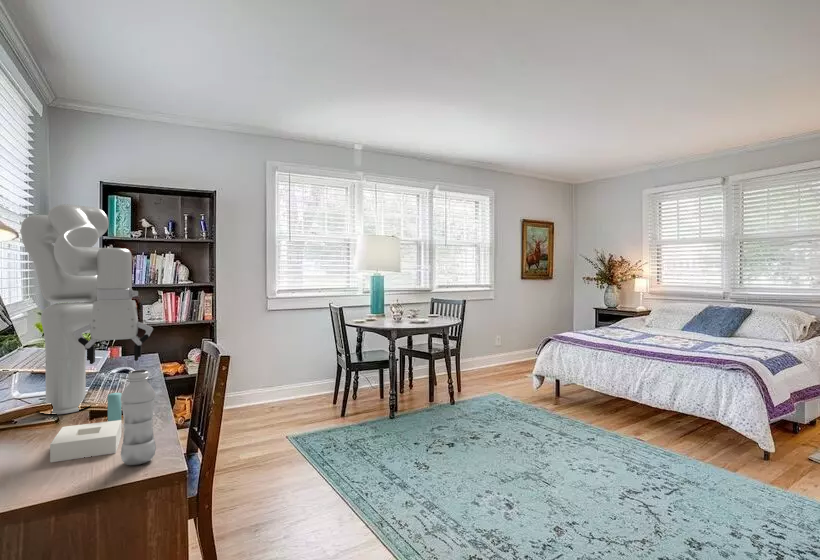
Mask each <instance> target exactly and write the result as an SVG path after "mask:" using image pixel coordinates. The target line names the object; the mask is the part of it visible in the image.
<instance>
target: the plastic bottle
mask: <svg viewBox="0 0 820 560" xmlns="http://www.w3.org/2000/svg"><path fill="white" fill-rule="evenodd" d="M149 377H150V375H149V370H148V369H136V370H131V371H129V372H128V378H127V381H128V383H129V384H128V385H127V386H126V387H125V388H124V390H123V392H121V412H122V414H123V415H122V416H123V418H122V419H123V422H124V423H123V438H122V444H121V449H120V450H121V451H120V458H121V462H122V463H124V465H126V466H135V465H136V466H139V465H141V464H145V463H147V462H150V461H151V460H152V459H153V458H154V456H155V454H156V450H157V445H156V440H155V436H154V435H155V434H154V426H153V416H154V407H155V400H156V392H155V389H154V388H153V387H152V385H151V383H149V382H148V381H149Z"/></svg>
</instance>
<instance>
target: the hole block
mask: <svg viewBox="0 0 820 560" xmlns="http://www.w3.org/2000/svg"><path fill="white" fill-rule="evenodd" d="M122 421H123V419H121V420H117V421H108V420H107V421H100V422H93V423H92V422H91V423H86V424H85V423H84V424H75V425H67V426H62V427H61V428H60V430H59V431H58V433H57V434H56V435H55V437H54V438H53V440H51V442H50V443H49V463H55V462H56V463H57V462H63V461H70V460H76V459H82V458H83V459H84V457H85V458H89V457H91V456H92V457H97V456H104V455H111V454H116V453H117V451H118V447H119V445H120V442H121V438H122V434H123V433H122V428H123V427H122V424H123V423H122Z"/></svg>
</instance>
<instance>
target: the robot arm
mask: <svg viewBox="0 0 820 560" xmlns="http://www.w3.org/2000/svg"><path fill="white" fill-rule="evenodd" d="M108 229H109V218H108V215H107V214H106V213H105V211H104V210H103V209H101V208H99V207H96V206H88V205H87V206H86V205H85V206H84V205H79V204H78V205H77V204H66V203H65V204H58V205H55V206H53V207H52V208H51V209H50V210H49V211H48V214H37V215H36V214H35V215H31V216H30V215H29V216H27V217H25V218H24V219H23V221H22V223H21V226H20V236H21V241H22V243H23V246H24V249H25V250H26V251H27V254H28V255H29V257H30V258H31V260H32V261H33V264H34V267H35V271H36V275H37V279H38V284H39V287H40V291H41V294H42V297H43V298H44V300H45V301H47V302H49V303H54V304H51V305H48V306H47V307H45V308H44V309H43V310H42V312H41V318H40V319H41V325H42V331H43V335H44V336H43V337H44V344H45V345H44V347H45V351H44V352H45V404H46V403H51V404H52V405H53V411H52V413H56V414H57V415H65V414H71V413H76V412H80V411H79V408H78V406H79V404H80V403H81V401H82V400H83V399H84V397H85V395H86V392H87V391H86V390H87V389H86V386H87V383H86V379H87V377H86V375H87V374H86V373H87V372H86V371H87V370H86V368H87V367H86V366H87V365H86V363H87V362H86V361H89V364H90V365H93V364H94V363H95V362H96V347H95V346H94V345H95V343H96V342H98V341H112V340H114V341H117V340H132V341H133V343H134V347H133V348H134V351H133V353H134V354H133V357H134V358H133V360H134V361H135V362H138V361H139V358H142V345H143V343H145V342H146V341H147V340H148V339H149V337H150V336H151V334H152V332H153V331H154V328H153V327H152V326H150V325H147V324H146V323H142V322H140V321H139V319H138V318H139V317H138V308H137V302H136V300H135V299H133V300H132V298H134V297H139V290H133V288H132V287H133V286H132V285H133V282H132V281H133V279H132V278H133V276H132V275H133V273H132V271H133V270H132V268H133V266H132V264H133V263H132V262H133V261H132V259H133V258H132V255H133V254H132V252H131V251H130V249H127V248H121V247H95V245H96V244H97V242H98V240H99V238H101V237H102V236H103V235H105V233H107V231H108ZM139 329H142V330H144V331H145V333H144V335H142V337H139V336H138V334H139V333H138V332H139ZM83 334H90V340H88V339H87V338H86V337H84V336H83Z"/></svg>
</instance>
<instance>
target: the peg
mask: <svg viewBox="0 0 820 560" xmlns="http://www.w3.org/2000/svg"><path fill="white" fill-rule="evenodd" d="M121 395H122V392H113V393H112V392H111V393H109V394H107V422H108V421H117V420H122V405H121Z"/></svg>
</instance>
